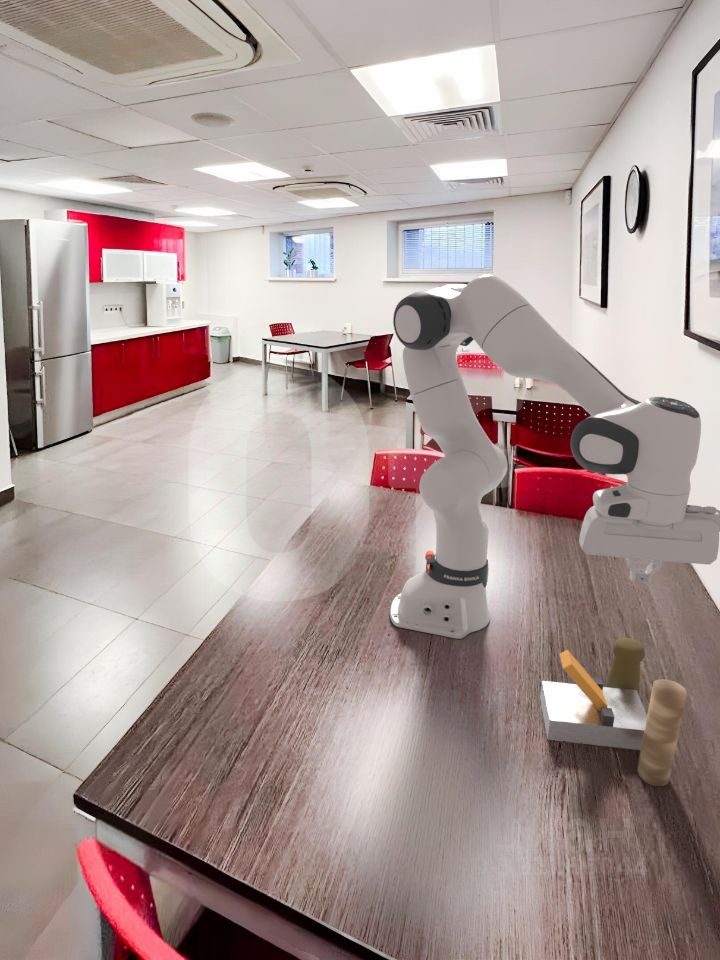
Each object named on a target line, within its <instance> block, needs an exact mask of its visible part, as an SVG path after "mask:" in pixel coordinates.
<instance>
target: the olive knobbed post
mask: <svg viewBox="0 0 720 960" xmlns="http://www.w3.org/2000/svg"><path fill="white" fill-rule="evenodd" d="M612 652H613V653H612V654H613V655H614V658H613V660H612V665H611V668H610V670H609V673H608V676H607V678H606V682H605V683H604V687H609V688H619V689H629V690H637V692H638V695H639V697H640V693H641V692H640V691H641V690H640V683H641V680H640V679H641V675H640V674H641V662H643V660H644V658H645V655H646V652H645V647H644V645H643V644H642V643H641V642H640V641H638V640H637V639H634V638H631V637H621V638H618V639H616V640H615V642H614V643H613V646H612ZM640 698H641V697H640Z"/></svg>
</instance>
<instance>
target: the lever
mask: <svg viewBox="0 0 720 960" xmlns="http://www.w3.org/2000/svg"><path fill="white" fill-rule="evenodd" d="M559 658H560V661H561V665H562V669H563V670H564V672H566V674H567V675H568V676H569V677H570V678H571V680H572V681H573V682H574V684H577V685H578V687H579V688H580V689H581V690H582V691H583V693H584V694H585V695H586V696H587V697H588V698H589V700H590V701H591V702H592V703H593V704H594V705H595V707H596V708H597V709H598V710H599V711H601V707H604V708H607V707H608V706H607V703H606V700H605V697H604V694H603V691H602V690H601V688H600V687H599V686H598V685H597V684H596V683H595V681H594V680H593V679H592V678H591V675H590V674H589V673H588V671H586V669H585V668H584V667H583V665H581V663H580V662H579V661H578V660H577V659H576V658H575V657H574V655H573V654H572V653H571V652H570V650H568V649H566V650H564V651H562V652H560V653H559Z"/></svg>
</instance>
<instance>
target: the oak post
mask: <svg viewBox="0 0 720 960" xmlns="http://www.w3.org/2000/svg"><path fill="white" fill-rule="evenodd" d="M687 696H688V692H687V689H686V688H685V687H684V686H683V685H681V683H678V682H677V681H673V680H670V679H666V678H661V679H656V680H654V681H653V683H652V689H651V694H650V697H649V698H650V699H649V704H648V709H647V713H646V714H647V720H646V725H645V731H644V736H643V741H642V747H641V750H640V753H639V757H638V763H637V767H636V768H637V769H636V773H637V772H638V773H637V775H638V774H639V775H638V777H639V776H640V777H641V778H642V779H643V780H644V781H645V782H644V781H643V780H642V779H641V778H640V777H639V778H640V779H641V780H642V781H643V782H644V783H645V784H647V783H648V784H647V785H649V784H650V786H652V785H654V786H653V787H656V786H663V787H665V785H666V786H667V785H668V784H669V782H670V777H671V773H672V768H673V762H674V757H675V753H676V749H677V743H678V740H679V739H678V738H679V735H680V729H681V724H682V720H683V716H684V710H685V707H686V706H685V705H686V700H687V698H688V697H687Z"/></svg>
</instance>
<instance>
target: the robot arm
mask: <svg viewBox="0 0 720 960" xmlns="http://www.w3.org/2000/svg"><path fill="white" fill-rule="evenodd" d="M395 306H396V307H395V308H394V312H393V318H392V319H393V321H392V323H393V329H394V333H395V336H396V337H397V339H398V341H399V342H400V343H401V345H403V346H404V348H403V351H402V360H403V368H404V374H405V378H406V383H407V386H408V390H409V392H410V397H411V400H412V402H413V406H414V409H415V411H416V415H417V418H418V420H419V421H418V422H419V423H420V427H421V429H422V431H423V432H424V434H426V435H427V436H428V437H430V438H432V439H433V440H434V442H436V444H437V445H438V447H439V448H440V450H441V452H442V453H443V455H444V456H443V457H441V458H440V459H437V460H436V461H434V462H433V463H432V464H431V465H430V466H429V467H428V468H427V469H426V470H425V471H424V472H423V473H422V475H421V476H420V480H419V486H418V487H419V492H420V493H419V494H420V496H421V499H422V501H423V502H424V503H425V505H426V506H427V507H429V509H430V510H431V511H432V514H433V517H434V519H435V520H434V521H435V531H436V532H435V533H436V541H435V553H434V552H433V551H432V550H428V551H426V552H425V558H424V559H425V561H426V565H425V569H424V570H423V571H421V572H419V573H417V574H415V575H414V576H411V577H410V578H408V579H407V580H406V582H405V584H404V586H403V587H402V591H401V592H400V593H399V594H397V595H396V596H395V597H394V598H393V600H392V602H391V605H390V611H389V612H390V613H389V617H390V621H391V622H392V624H393V626H395V627H398V628H401V629H406V630H412V631H416V632H422V633H428V634H431V635H436V636H442V637H446V638H452V639H459V640H461V639H463V638H465V637H466V636H468V635H469V634H471V633H473V632H477V631H480V630H482V629H484V628H485V627H487V626H488V624H489V623H490V620H491V615H490V611H489V607H488V601H487V600H488V599H487V585H488V581H489V580H488V579H489V569H490V567H489V560H488V544H489V526H488V525H487V523H486V522H485V521H484V520H483V518H482V517H483V516H482V512H481V502H482V498H483V497H484V496H485V495H487V494H489V492H492V491H493V490H494V489H496V488H497V487H498V486H499V485H500V484H501V482H502V480H503V479H504V478H505V476H506V474H507V471H508V460H507V456H506V454H505V453H504V451H503V449H501V448H500V447H499V446H498V445H496V444H494V443H493V442H492V441H491V440H490V438H489V437H488V435H487V433H486V431H485V430H484V429H483V427H482V425H481V424H480V422H479V420H478V418H477V416H476V414H475V411H474V409H473V406H472V403H471V401H470V398H469V395H468V392H467V390H466V386H465V382H464V379H463V376H462V374H461V370H460V369H459V365H458V361H457V351H458V348H459V346H463V347H467V346H469V345H470V344H471V343H473V341H475V343H476V344H477V345H478V346H479V348H480V349H481V350H482V351H483V352H484V354H485V355H486V356H487V358H489V360H490V361H491V362H492V363H493V364H495V365H496V366H497V367H498V368H500V369H501V370H502V371H503V372H505V373H506V374H508V375H510V376H513V377H515V378H523V379H524V378H525V379H532V380H538V381H542V382H546V383H550V384H552V385H554V386H557V387H558V388H560V389H561V390H563V391H565V392H566V393H567V394H568V395H569V396H570V397H571V398H572V399H573V400H574V401H575V402H577V404H578V405H580V407H582V408H583V410H584V411H585V412H587V413H588V414H589V415H590V416H588V417H586V418H585V419H583V420H582V421H580V422H578V423H577V425H576V426H575V427H574V429H573V430H572V433H571V437H570V450H571V453H572V455H573V456H572V457H573V458H574V460H575V461H576V463H578V465H579V466H581V468H583V469H584V470H587V471H589V472H592V473H596V474H604V475H605V474H606V475H626V476H625V477H627V480H626V483H625V484H621V485H618V486H613V487H608V488H607V487H606V488H603V489H599V490H596V491H594V493H593V495H592V501H593V502H592V503H593V506H591V507H589V509H588V510H587V511H586V513H585V515H584V518H583V521H582V524H581V527H580V528H581V529H580V534H579V537H578V539H579V540H578V542H579V543H578V544H579V546H580V548H581V550H582V551H583V552H584V554H585V555H589V556H590V555H591V556H600V557H601V556H603V557H613V558H625V560H626V561H627V564H628V567H629V568H630V570H629V571H630V572H629V580H630V581H631V582H633V583H643V584H644V583H645V584H651V583H652V578H653V575H655V574H656V573H657V572H658V571H659V570H660V569H661V568H662V567H663V562H672V563H682V564H683V563H685V564H696V565H697V564H698V565H709V566H710V565H711V564H713V563H714V562H716V561H717V560H718V555H719V549H720V547H719V545H720V510H719V509H717V508H716V507H715V506H711V505H710V506H709V505H708V506H707V505H706V506H703V505H702V506H701V505H693V504H688V502H689V498H690V493H691V481H690V480H691V474H692V471H693V469H694V468H695V466H696V464H697V460H698V454H699V450H700V449H699V448H700V443H701V434H702V433H701V431H702V420H701V415H700V413H699V411H698V410H697V409H696V408H695V407H693V405H691V404H689V403H687V402H685V401H682V400H679V399H675V398H672V397H664V396H653V397H649V398H647V399H645V400H644V401H639V400H636V399H634V398H632V397H630V396H629V395H627V394H625V393H624V392H623V391H622V390H620V388H618V387H617V386H616V385H615V383H613V382H612V381H611V380H610V379H609V378H608V377H606V375H605V374H604V373H602V372H601V371H600V370H599V369H598V368H597V367H596V366H595V365H594V364H593V363H592V362H590V361H589V360H588V359H587V358H586V357H585V356H584V355H583V354H581V352H579V351H578V350H576V348H574V347H573V346H572V345H571V344H570V343H569V342H568V341H567V340H566V339H565V338H564V337H562V335H560V334H559V332H558V331H556V329H554V327H552V326H551V324H550V323H549V322H548V321H547V320H546V319H545V318H544V317H543V316H542V315H541V314H540V312H539V311H538V310H537V309H536V308H535V307H534V306H533V305H532V304H531V303H530V302H529V300H527V298H525V297H524V296H523V295H522V294H521V293H520V292H519V291H517V290H516V289H515V288H514V287H512V286H511V285H509V284H508V283H507V282H505V281H504V280H502V279H501V278H500V277H498V276H496V275H493V274H483V275H480V276H477V277H475V278H473V279H472V280H471V281H469V282H462V283H460V284H457V283H455V284H445V285H444V284H443V285H440V286H436V287H434V288H429V289H427V290H424V291H417V292H413V293H412V294H409V295H407V296H406V297H403V298H402V299H401V300H400V301H399V302H398V303H397V305H395ZM639 559H640V560H649V561H650V563H649V564H648V565H647V566H646V567H645V568H637V567H636V566H635V565H637V564H638V563H639Z"/></svg>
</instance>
